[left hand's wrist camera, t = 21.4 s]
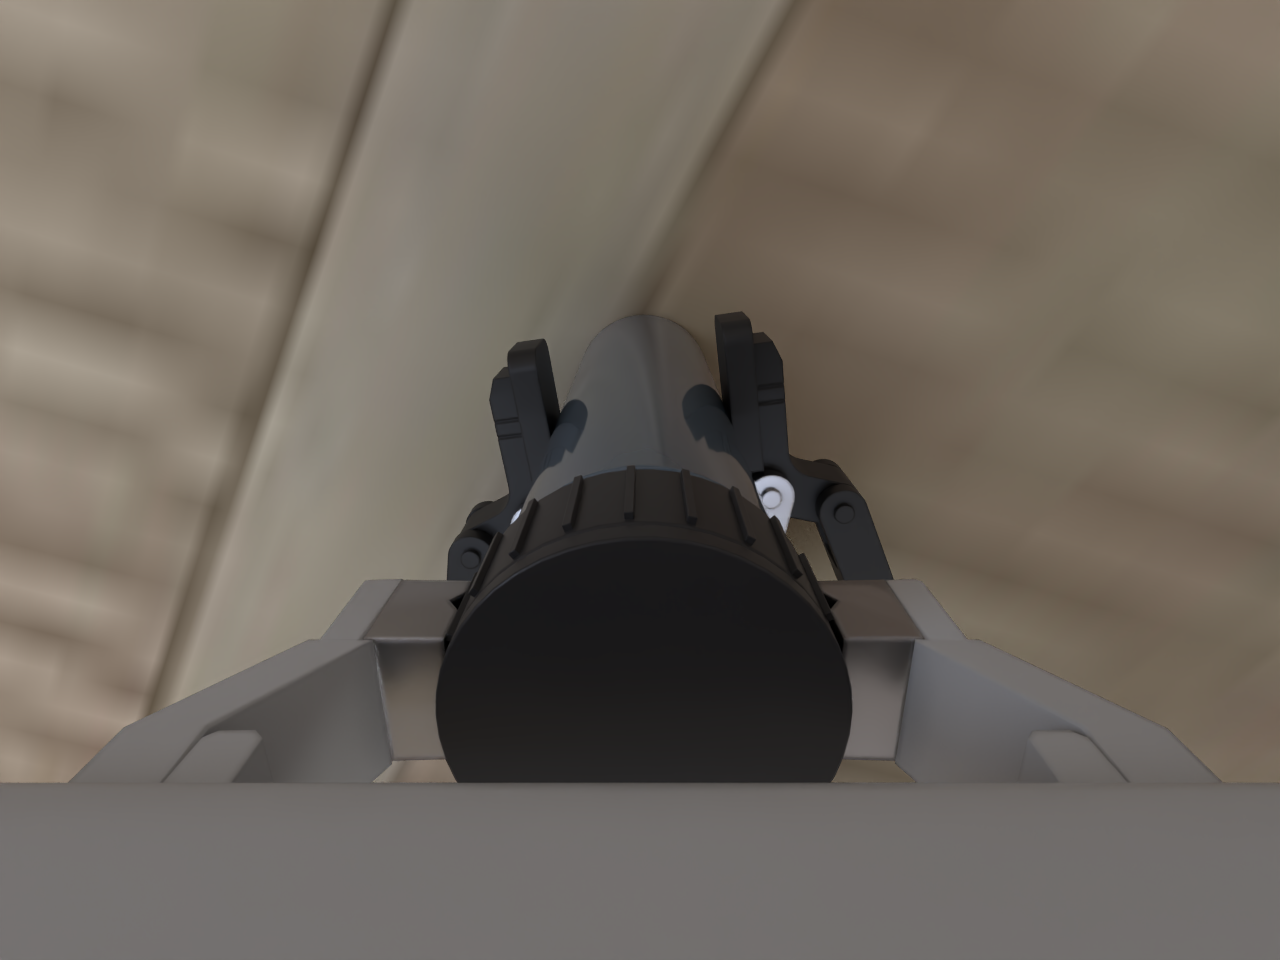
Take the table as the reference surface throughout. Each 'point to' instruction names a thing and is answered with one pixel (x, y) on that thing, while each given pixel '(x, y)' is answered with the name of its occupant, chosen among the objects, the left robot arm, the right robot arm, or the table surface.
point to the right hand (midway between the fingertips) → (627, 334)
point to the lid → (643, 644)
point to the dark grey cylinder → (644, 413)
